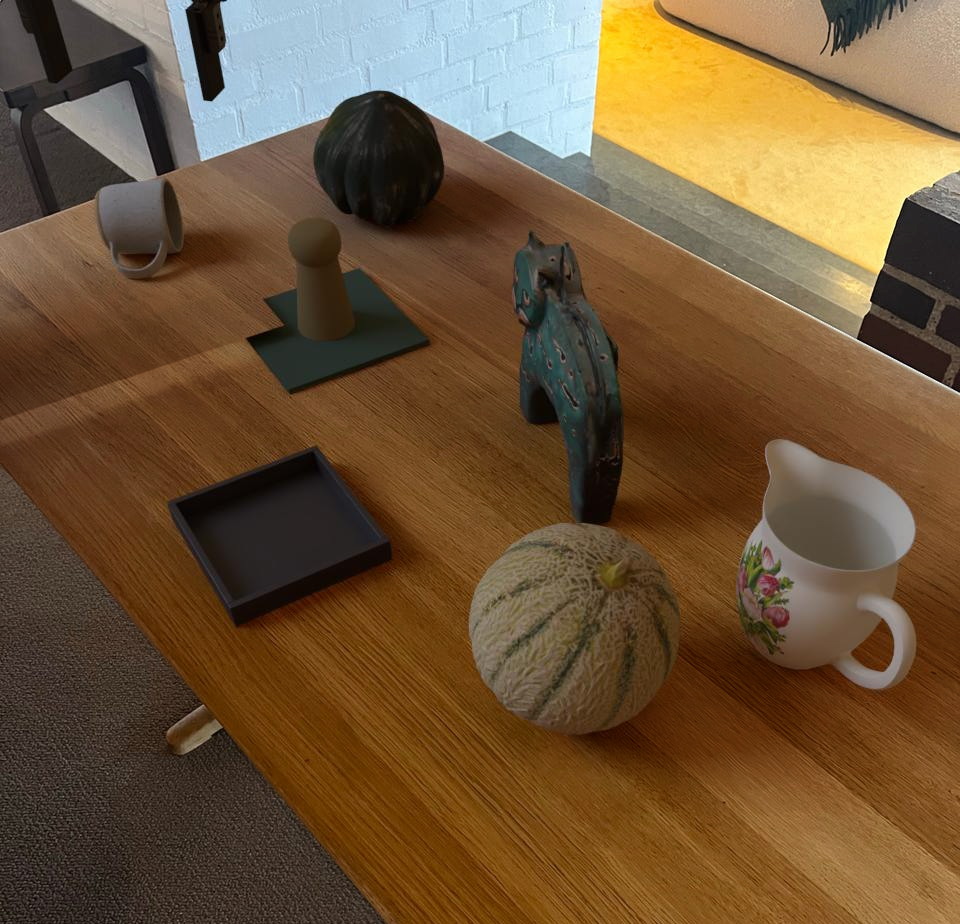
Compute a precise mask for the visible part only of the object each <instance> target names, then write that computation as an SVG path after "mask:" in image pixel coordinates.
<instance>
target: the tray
mask: <svg viewBox="0 0 960 924" xmlns="http://www.w3.org/2000/svg"><path fill="white" fill-rule="evenodd" d="M166 504H167V507H168V511H169V514H170V516H171V519H172V522H173V524H174V525H175V527H176V529H177V530H178V532H179V534H180V535H181V537H182V539H183V540H184V542H185V543H186V546H187V547H188V549H189V551H190V552H191V554H192V556H193V557H194V559H195V561H196V562H197V565H198V566H199V567H200V569H201V571H202V573H203V574H204V576H205V578H206V580H207V581H208V583H209V584H210V586H211V588H212V590H213V591H214V593H215V595H216V597H217V598H218V600H219V601H220V603H221V605H222V606H223V609H224V610H225V611H226V613H227V616H229V618H230V620H231V622H232V623H233V625H234V626H235V628H238V627H240V626H242V625H244V624H247V623H250V622H251V621H254V620H256V619H258V618H261V617H264V616H265V615H267V614H270V613H272V612H275V611H277V610H279V609H282V608H284V607H286V606H289V605H290V604H293V603H295V602H298V601H300V600H302V599H304V598H307V597H310V596H311V595H313V594H316V593H318V592H319V593H320V592H321V591H323V590H325V589H328V588H330V587H332V586H334V585H337V584H340V583H342V582H344V581H346V580H348V579H351V578H353V577H356V576H358V575H360V574H363V573H364V572H367V571H369V570H372V569H374V568H376V567H378V566H381V565H384V564H385V563H388V562H390V561H392V560H393V553H392V545H391V544H392V543H391V540H390V538H389V537H388V536H387V534H386V533H385V532H384V531H383V529H382V528H381V527H380V525H379V524H378V523H377V521H376V520H375V519H374V518H373V517H372V515H371V513H370V512H369V511H368V510H367V509H366V507H365V506H364V505H363V504H362V502H361V501H360V499H359V498H358V497H357V496H356V495H355V493H354V492H353V490H352V489H351V488H350V487H349V485H348V484H347V483H346V482H345V480H344V479H343V478H342V476H341V475H340V473H339V472H338V471H337V470H336V468H335V467H334V466H333V465H332V463H331V462H330V461H329V459H328V458H327V457H326V455H325V454H324V453H323V452H322V450H321V449H320V448H319V446H318V445H317V444H315V445H312V446H310V447H308V448H305V449H303V450H299V451H297V452H294V453H292V454H289V455H287V456H285V457H281V458H278V459H276V460H273V461H271V462H268V463H266V464H263V465H260V466H257V467H254V468H252V469H250V470H247V471H244V472H242V473H239V474H237V475H234V476H230V477H228V478H226V479H223V480H221V481H218V482H215V483H213V484H210V485H207V486H204V487H202V488H199V489H196V490H194V491H192V492H189V493H186V494H184V495H181V496H178V497H175V498H173V499H170V500H168V501H166Z"/></svg>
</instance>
